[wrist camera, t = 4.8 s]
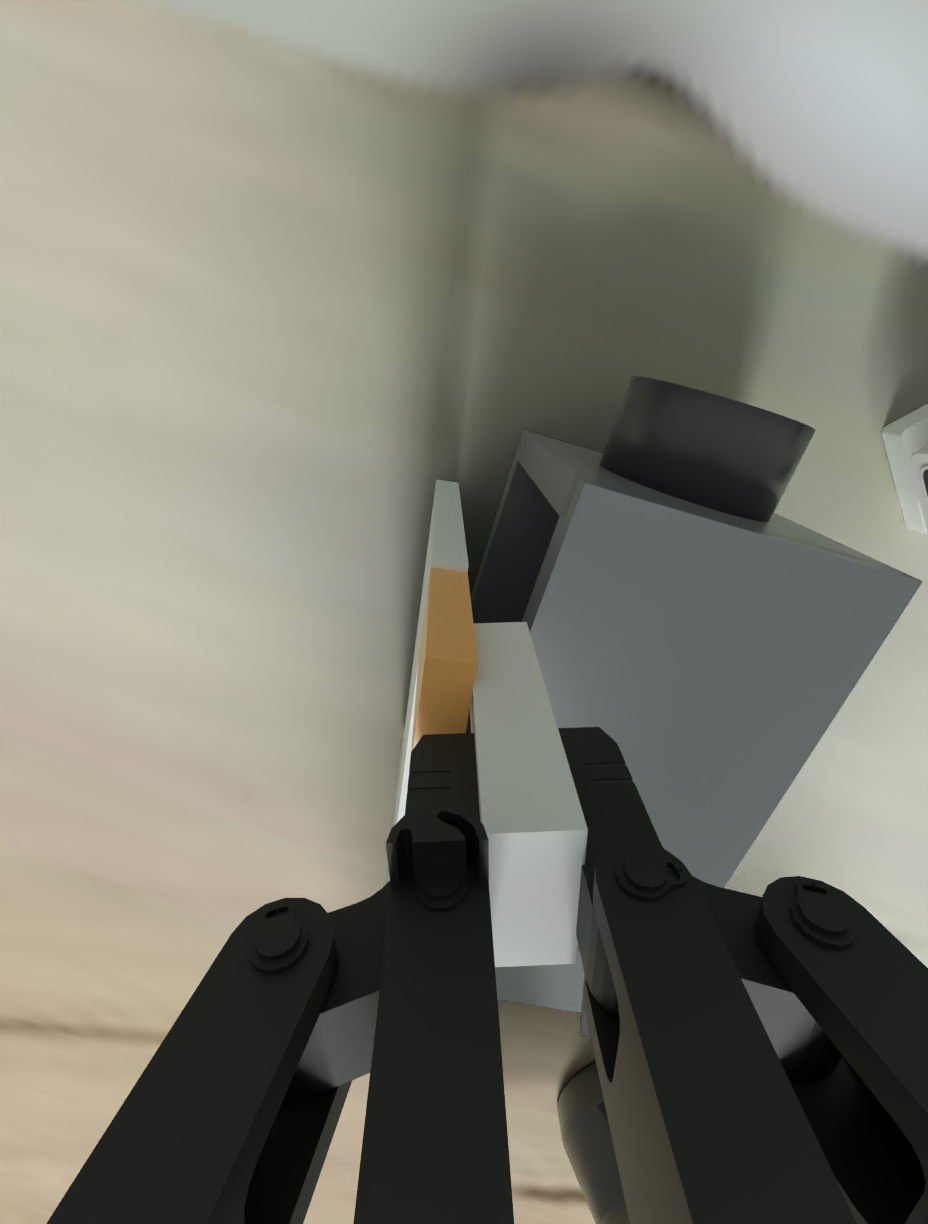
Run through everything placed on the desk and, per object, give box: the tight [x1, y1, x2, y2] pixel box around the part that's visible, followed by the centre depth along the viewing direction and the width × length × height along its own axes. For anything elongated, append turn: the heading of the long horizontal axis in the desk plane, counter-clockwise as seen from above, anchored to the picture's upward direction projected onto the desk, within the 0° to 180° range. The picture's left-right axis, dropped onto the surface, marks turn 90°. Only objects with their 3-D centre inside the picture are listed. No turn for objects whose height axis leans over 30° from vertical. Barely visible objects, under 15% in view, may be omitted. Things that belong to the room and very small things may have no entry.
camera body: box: [466, 376, 923, 1012], centre depth 24 cm, size 23×10×12 cm, turn 164°
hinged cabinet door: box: [385, 479, 478, 885], centre depth 21 cm, size 15×1×16 cm, turn 171°
